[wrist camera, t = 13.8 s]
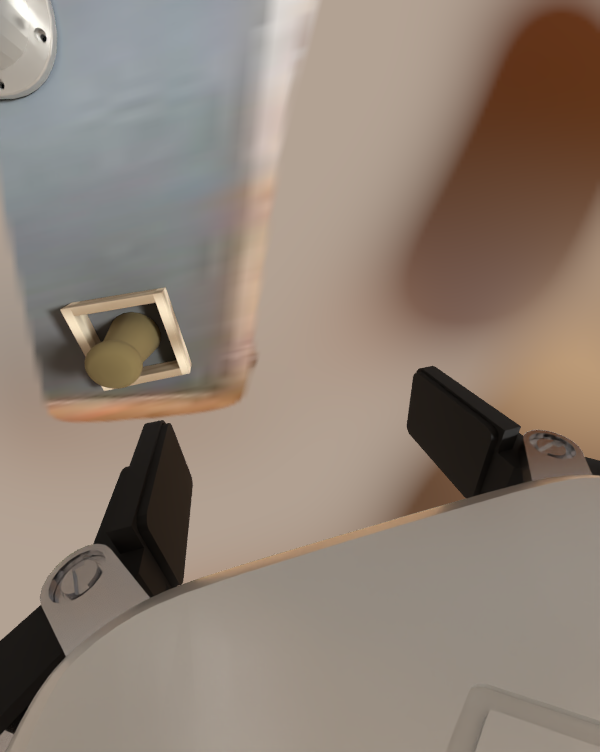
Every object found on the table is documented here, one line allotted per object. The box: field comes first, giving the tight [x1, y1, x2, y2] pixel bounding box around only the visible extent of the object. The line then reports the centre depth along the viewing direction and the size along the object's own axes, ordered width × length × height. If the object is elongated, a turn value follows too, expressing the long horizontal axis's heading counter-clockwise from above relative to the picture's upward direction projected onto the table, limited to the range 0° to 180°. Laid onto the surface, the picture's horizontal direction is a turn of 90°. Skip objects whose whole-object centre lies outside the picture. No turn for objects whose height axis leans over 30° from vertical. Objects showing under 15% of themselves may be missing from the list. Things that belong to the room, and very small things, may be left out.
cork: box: [85, 312, 161, 389], centre depth 34 cm, size 6×6×11 cm
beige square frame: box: [60, 287, 192, 391], centre depth 38 cm, size 11×11×3 cm
